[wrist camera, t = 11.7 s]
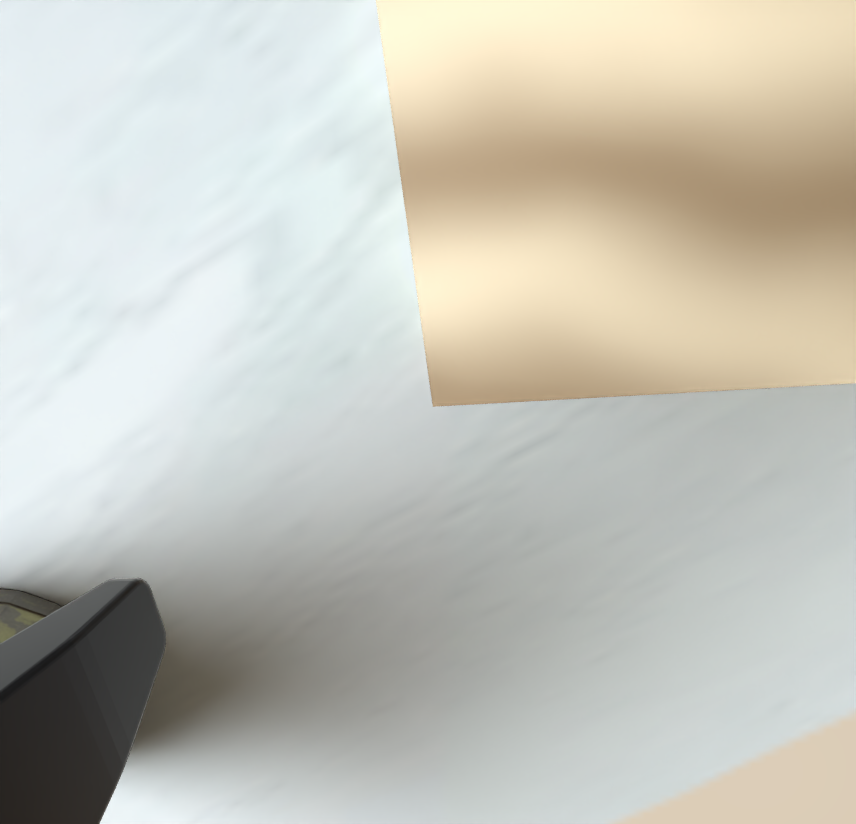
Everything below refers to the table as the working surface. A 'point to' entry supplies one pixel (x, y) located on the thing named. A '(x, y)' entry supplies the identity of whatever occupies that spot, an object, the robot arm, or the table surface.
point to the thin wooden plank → (627, 193)
